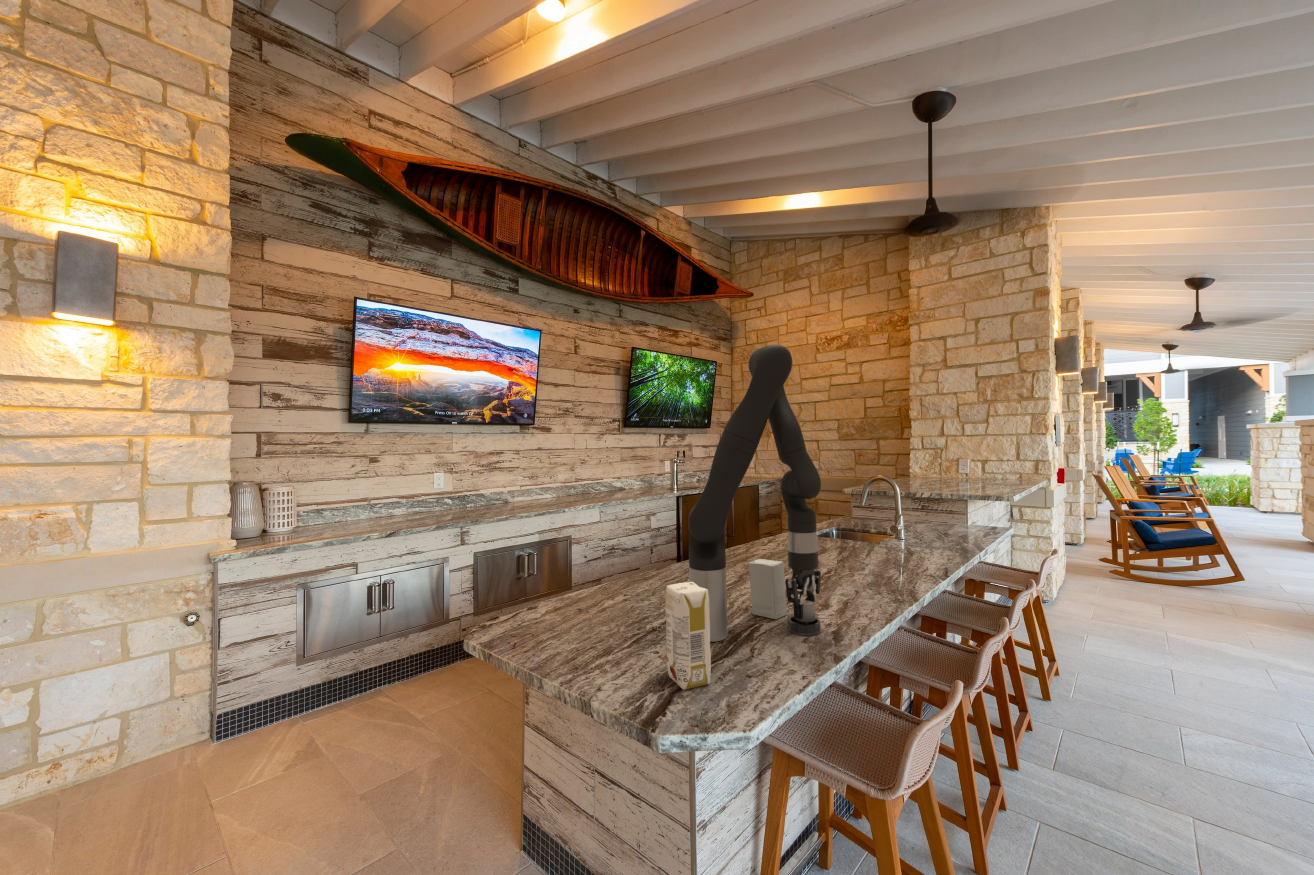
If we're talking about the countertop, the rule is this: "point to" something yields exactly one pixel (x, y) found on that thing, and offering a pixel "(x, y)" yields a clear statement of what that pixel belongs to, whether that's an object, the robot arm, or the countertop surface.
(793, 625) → the black round dish
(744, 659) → the countertop surface
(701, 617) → the juice carton
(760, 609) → the skincare box
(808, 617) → the cap
